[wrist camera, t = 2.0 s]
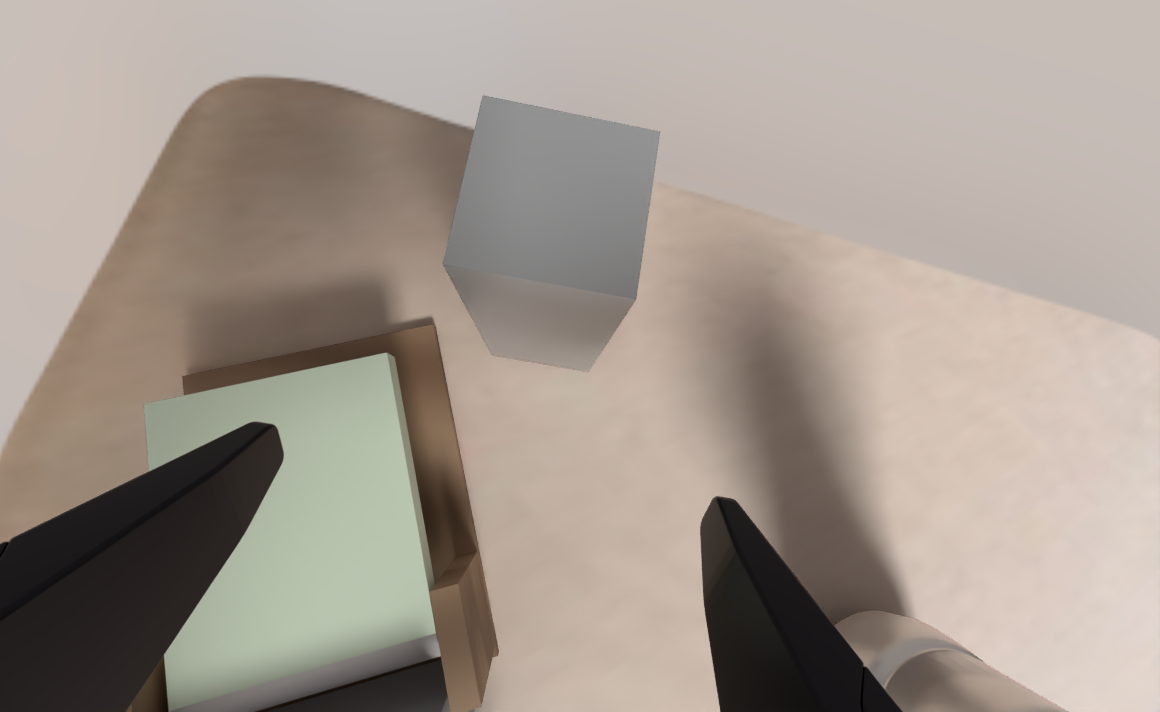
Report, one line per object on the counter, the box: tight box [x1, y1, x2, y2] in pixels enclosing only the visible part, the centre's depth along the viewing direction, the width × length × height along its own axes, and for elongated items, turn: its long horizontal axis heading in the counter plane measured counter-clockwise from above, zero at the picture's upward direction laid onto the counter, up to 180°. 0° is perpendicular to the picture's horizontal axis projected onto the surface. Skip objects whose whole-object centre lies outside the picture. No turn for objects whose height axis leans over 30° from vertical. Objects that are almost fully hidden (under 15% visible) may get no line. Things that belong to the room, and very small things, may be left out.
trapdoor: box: [143, 353, 474, 712], centre depth 17 cm, size 16×9×6 cm, turn 14°
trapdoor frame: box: [126, 324, 499, 712], centre depth 19 cm, size 16×12×6 cm
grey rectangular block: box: [443, 96, 660, 372], centre depth 18 cm, size 5×5×12 cm
